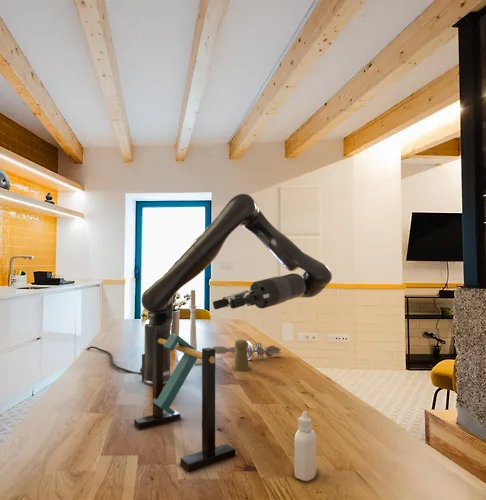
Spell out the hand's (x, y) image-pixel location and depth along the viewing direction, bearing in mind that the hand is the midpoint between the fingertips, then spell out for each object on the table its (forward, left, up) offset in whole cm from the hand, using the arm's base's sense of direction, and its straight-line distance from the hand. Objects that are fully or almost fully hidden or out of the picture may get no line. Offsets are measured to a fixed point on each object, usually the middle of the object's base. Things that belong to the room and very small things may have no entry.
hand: (222, 305), depth 97 cm
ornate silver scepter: (-14, +65, -30) cm, 73 cm away
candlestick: (-34, +53, -30) cm, 70 cm away
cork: (-12, +51, -30) cm, 61 cm away
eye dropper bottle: (+23, -14, -30) cm, 40 cm away
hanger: (-9, -19, -20) cm, 29 cm away
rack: (-5, -13, -30) cm, 33 cm away
